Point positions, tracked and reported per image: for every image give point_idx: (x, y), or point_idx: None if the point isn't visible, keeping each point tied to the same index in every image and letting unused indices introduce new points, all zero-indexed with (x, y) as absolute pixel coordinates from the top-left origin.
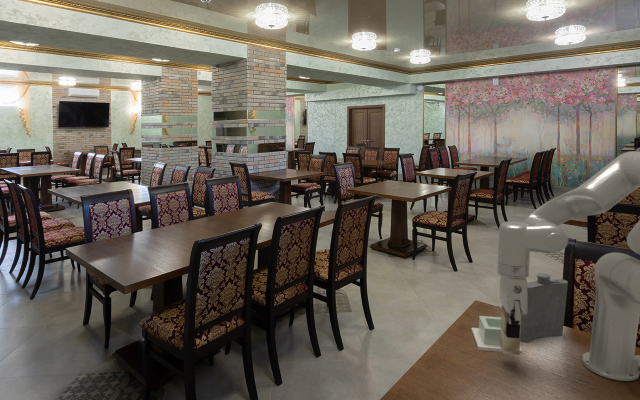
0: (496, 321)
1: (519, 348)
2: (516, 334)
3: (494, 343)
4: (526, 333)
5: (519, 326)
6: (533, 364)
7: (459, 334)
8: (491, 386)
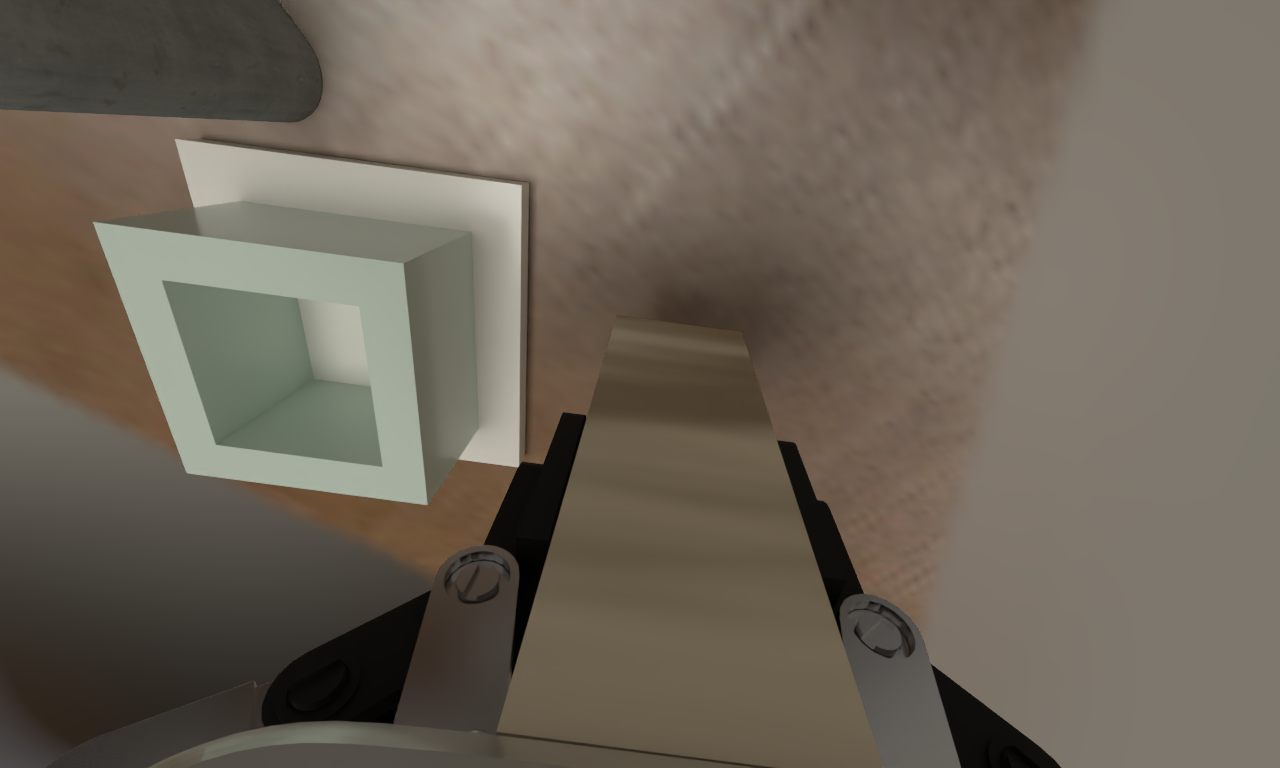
0: (208, 343)
1: (750, 359)
2: (829, 514)
3: (472, 374)
4: (253, 50)
5: (834, 552)
6: (671, 156)
7: (357, 498)
8: (888, 499)
